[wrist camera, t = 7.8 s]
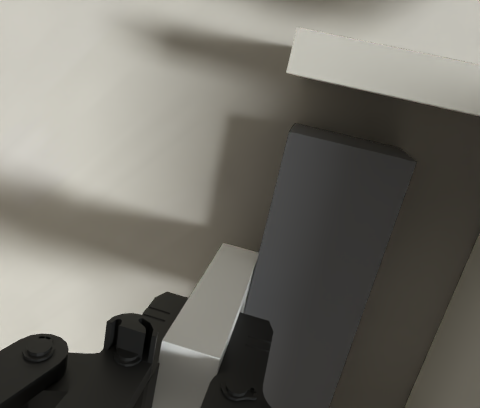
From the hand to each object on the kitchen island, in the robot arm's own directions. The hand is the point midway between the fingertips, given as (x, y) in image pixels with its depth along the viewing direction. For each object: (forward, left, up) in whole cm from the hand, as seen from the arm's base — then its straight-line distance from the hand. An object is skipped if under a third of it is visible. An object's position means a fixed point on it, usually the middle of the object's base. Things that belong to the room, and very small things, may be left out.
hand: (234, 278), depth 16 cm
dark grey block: (0, +3, -2) cm, 3 cm away
